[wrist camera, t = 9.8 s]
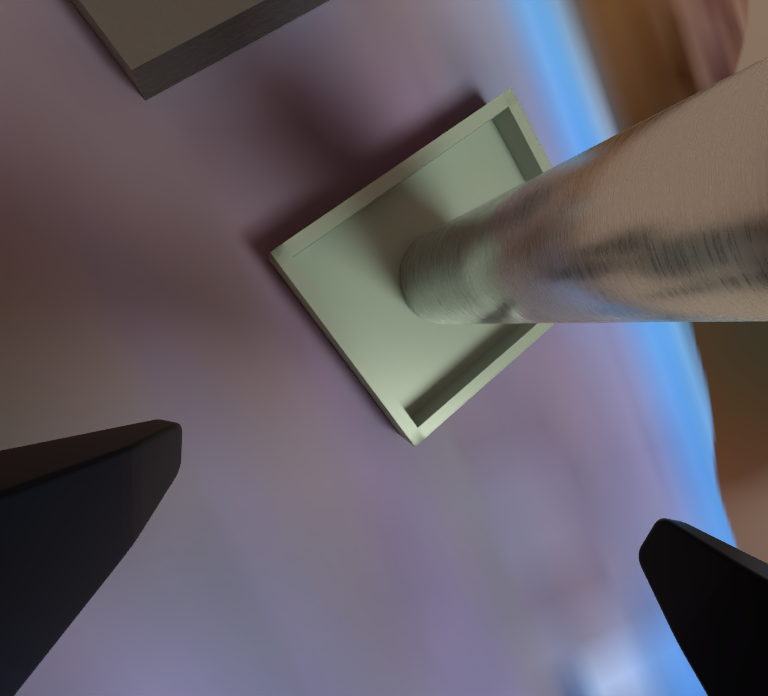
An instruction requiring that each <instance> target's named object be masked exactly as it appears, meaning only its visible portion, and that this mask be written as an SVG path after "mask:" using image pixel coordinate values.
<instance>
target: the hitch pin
mask: <svg viewBox="0 0 768 696" xmlns="http://www.w3.org/2000/svg"><path fill="white" fill-rule="evenodd" d="M400 286H401V290H402V293H403V296H404V298H405V300H406V302H407V304H408V305H409V306H410V308H411V309H412V310H413V311H414V312H415V313H416V314H417V315H418V316H420V317H421V318H423V319H424V320H426V321H429V322H432V323H435V324H510V323H611V322H708V321H710V322H711V321H768V57H766V58H764V59H762V60H760V61H758V62H757V63H755V64H753V65H751V66H749V67H747V68H745V69H743V70H741V71H739V72H737V73H735V74H733V75H731V76H729V77H727V78H726V79H724V80H722V81H720V82H718V83H716V84H714V85H712V86H710V87H708V88H706V89H704V90H702V91H700V92H698V93H696V94H695V95H693V96H691V97H689V98H687V99H685V100H683V101H681V102H679V103H677V104H675V105H673V106H671V107H669V108H667V109H665V110H664V111H662V112H660V113H658V114H656V115H654V116H652V117H650V118H648V119H646V120H644V121H642V122H640V123H638V124H636V125H634V126H633V127H631V128H629V129H627V130H625V131H623V132H621V133H619V134H617V135H615V136H613V137H611V138H609V139H607V140H605V141H603V142H602V143H600V144H598V145H596V146H594V147H592V148H590V149H588V150H586V151H584V152H582V153H580V154H578V155H576V156H574V157H572V158H571V159H569V160H567V161H565V162H563V163H561V164H559V165H557V166H555V167H553V168H551V169H549V170H547V171H545V172H543V173H541V174H540V175H538V176H536V177H534V178H532V179H530V180H528V181H526V182H524V183H522V184H520V185H518V186H516V187H514V188H512V189H511V190H509V191H507V192H505V193H503V194H501V195H499V196H497V197H495V198H493V199H491V200H489V201H487V202H485V203H483V204H481V205H480V206H478V207H476V208H474V209H472V210H470V211H468V212H466V213H464V214H462V215H460V216H458V217H456V218H454V219H452V220H450V221H449V222H447V223H445V224H443V225H441V226H439V227H437V228H435V229H433V230H431V231H429V232H427V233H425V234H423V235H422V236H420V237H418V238H417V239H416V240H415V241H414V242H413V243H412V244H411V245H410V246H409V247H408V249H407V250H406V252H405V254H404V256H403V259H402V262H401V266H400Z"/></svg>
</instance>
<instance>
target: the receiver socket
mask: <svg viewBox="0 0 768 696" xmlns="http://www.w3.org/2000/svg"><path fill="white" fill-rule="evenodd" d="M71 1H72V3H73V4H74V5H75V7H76V8H77V9H78V11H79V12H80V13H81V15H82V16H83V17H84V19H85V20H86V21H87V23H88V24H89V25H90V27H91V28H92V29H93V31H94V32H95V33H96V35H97V36H98V37H99V39H100V40H101V41H102V43H103V44H104V45H105V47H106V48H107V49H108V51H109V52H110V53H111V55H112V56H113V57H114V59H115V60H116V61H117V63H118V64H119V65H120V67H121V68H122V69H123V71H124V72H125V73H126V75H127V76H128V77H129V79H130V80H131V81H132V83H133V84H134V85H135V86H136V88H137V89H138V90H139V92H140V93H141V94H142V96H143V97H144V98H145V100H147V99H149V98H151V97H152V96H154V95H156V94H158V93H160V92H162V91H163V90H165V89H167V88H169V87H171V86H173V85H174V84H176V83H178V82H180V81H182V80H184V79H185V78H187V77H189V76H191V75H193V74H195V73H196V72H198V71H200V70H202V69H204V68H206V67H207V66H209V65H211V64H213V63H215V62H217V61H218V60H220V59H222V58H224V57H226V56H228V55H229V54H231V53H233V52H235V51H237V50H239V49H240V48H242V47H244V46H246V45H248V44H250V43H251V42H253V41H255V40H257V39H259V38H261V37H262V36H264V35H266V34H268V33H270V32H272V31H273V30H275V29H277V28H279V27H281V26H283V25H284V24H286V23H288V22H290V21H292V20H294V19H295V18H297V17H299V16H301V15H303V14H305V13H306V12H308V11H310V10H312V9H314V8H316V7H317V6H319V5H321V4H323V3H325V2H327V1H329V0H71Z"/></svg>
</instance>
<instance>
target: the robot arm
mask: <svg viewBox="0 0 768 696" xmlns="http://www.w3.org/2000/svg"><path fill="white" fill-rule="evenodd" d="M181 448H182V428H181V426H180V424H178V423H175V422H170V421H165V420H151V421H146V422H141V423H136V424H131V425H126V426H121V427H116V428H111V429H106V430H101V431H96V432H91V433H86V434H81V435H76V436H71V437H66V438H62V439H57V440H52V441H47V442H42V443H37V444H32V445H27V446H22V447H17V448H12V449H7V450H2V451H0V696H14V695H15V694H16V693H17V691H18V690H19V689H20V687H21V686H22V685H23V684H24V682H25V681H26V680H27V679H28V677H29V676H30V675H31V674H32V672H33V671H34V670H35V669H36V667H37V666H38V665H39V663H40V662H41V661H42V660H43V658H44V657H45V656H46V655H47V653H48V652H49V651H50V650H51V648H52V647H53V646H54V644H55V643H56V642H57V641H58V639H59V638H60V637H61V636H62V634H63V633H64V632H65V631H66V629H67V628H68V627H69V625H70V624H71V623H72V622H73V620H74V619H75V618H76V617H77V615H78V614H79V613H80V612H81V610H82V609H83V608H84V607H85V605H86V604H87V603H88V601H89V600H90V599H91V598H92V596H93V595H94V594H95V593H96V591H97V590H98V589H99V588H100V586H101V585H102V584H103V582H104V581H105V580H106V579H107V577H108V576H109V575H110V574H111V572H112V571H113V570H114V569H115V567H116V566H117V565H118V563H119V562H120V561H121V560H122V558H123V557H124V556H125V555H126V553H127V552H128V551H129V549H130V548H131V547H132V545H133V544H134V542H135V541H136V539H137V538H138V536H139V535H140V533H141V532H142V530H143V529H144V527H145V525H146V524H147V522H148V521H149V519H150V517H151V516H152V514H153V513H154V511H155V509H156V508H157V506H158V505H159V503H160V501H161V500H162V498H163V497H164V495H165V493H166V492H167V490H168V489H169V487H170V485H171V484H172V482H173V481H174V479H175V477H176V475H177V473H178V471H179V468H180V464H181ZM639 562H640V565H641V567H642V570H643V572H644V574H645V576H646V578H647V580H648V582H649V584H650V586H651V588H652V591H653V593H654V595H655V597H656V599H657V601H658V603H659V605H660V607H661V609H662V612H663V614H664V616H665V618H666V620H667V622H668V624H669V626H670V628H671V630H672V632H673V634H674V636H675V638H676V640H677V642H678V644H679V646H680V648H681V650H682V651H683V653H684V655H685V657H686V659H687V660H688V662H689V664H690V666H691V667H692V669H693V671H694V672H695V674H696V676H697V678H698V679H699V681H700V683H701V685H702V686H703V688H704V690H705V692H706V693H707V695H708V696H768V564H767V563H765V562H763V561H761V560H759V559H757V558H755V557H753V556H751V555H749V554H747V553H745V552H743V551H741V550H739V549H737V548H735V547H733V546H731V545H729V544H727V543H725V542H723V541H721V540H719V539H717V538H715V537H713V536H711V535H709V534H707V533H705V532H703V531H701V530H699V529H697V528H695V527H693V526H691V525H689V524H687V523H684V522H681V521H677V520H671V519H666V518H663V519H659V520H658V521H657V522H656V523H655V524H654V526H653V527H652V529H651V531H650V532H649V534H648V536H647V537H646V539H645V541H644V542H643V544H642V546H641V547H640V550H639Z"/></svg>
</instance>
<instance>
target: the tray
mask: <svg viewBox="0 0 768 696" xmlns="http://www.w3.org/2000/svg"><path fill="white" fill-rule="evenodd" d="M551 168H552V166H551V164H550V162H549V160H548V158H547V156H546V154H545V152H544V150H543V148H542V146H541V144H540V142H539V140H538V138H537V136H536V134H535V132H534V131H533V129H532V127H531V125H530V123H529V121H528V119H527V117H526V115H525V113H524V111H523V109H522V107H521V105H520V103H519V101H518V99H517V97H516V95H515V93H514V92H513V90H512V88H510V89H508V90H507V91H505V92H504V93H502V94H501V95H500V96H498V97H497V98H495V99H494V100H492V101H491V102H489V103H488V104H486V105H485V106H483V107H482V108H480V109H479V110H478V111H476V112H475V113H473V114H472V115H470V116H469V117H467V118H466V119H464V120H463V121H461V122H460V123H458V124H457V125H456V126H454V127H453V128H451V129H450V130H448V131H447V132H445V133H444V134H442V135H441V136H439V137H438V138H436V139H435V140H434V141H432V142H431V143H429V144H428V145H426V146H425V147H423V148H422V149H420V150H419V151H417V152H416V153H414V154H413V155H412V156H410V157H409V158H407V159H406V160H404V161H403V162H401V163H400V164H398V165H397V166H395V167H394V168H392V169H391V170H390V171H388V172H387V173H385V174H384V175H382V176H381V177H379V178H378V179H376V180H375V181H373V182H372V183H370V184H369V185H368V186H366V187H365V188H363V189H362V190H360V191H359V192H357V193H356V194H354V195H353V196H351V197H350V198H348V199H347V200H346V201H344V202H343V203H341V204H340V205H338V206H337V207H335V208H334V209H332V210H331V211H329V212H328V213H326V214H325V215H323V216H322V217H321V218H319V219H318V220H316V221H315V222H313V223H312V224H310V225H309V226H307V227H306V228H304V229H303V230H301V231H300V232H299V233H297V234H296V235H294V236H293V237H291V238H290V239H288V240H287V241H285V242H284V243H282V244H281V245H279V246H278V247H277V248H275V249H274V250H272V251H271V252H270V253H269V256H268V259H269V261H270V262H271V263H272V265H273V266H274V267H275V269H276V270H277V271H278V273H279V274H280V275H281V277H282V278H283V279H284V281H285V282H286V283H287V285H288V286H289V287H290V289H291V290H292V291H293V293H294V294H295V295H296V297H297V298H298V299H299V301H300V302H301V303H302V305H303V306H304V307H305V309H306V310H307V311H308V313H309V314H310V315H311V317H312V318H313V319H314V321H315V322H316V323H317V325H318V326H319V327H320V329H321V330H322V331H323V333H324V334H325V335H326V337H327V338H328V339H329V341H330V342H331V343H332V345H333V346H334V347H335V349H336V350H337V351H338V353H339V354H340V355H341V357H342V358H343V359H344V361H345V362H346V363H347V365H348V366H349V367H350V369H351V370H352V371H353V373H354V374H355V375H356V377H357V378H358V379H359V381H360V382H361V383H362V385H363V386H364V387H365V389H366V390H367V391H368V393H369V394H370V395H371V397H372V398H373V399H374V401H375V402H376V403H377V405H378V406H379V407H380V409H381V410H382V411H383V413H384V414H385V415H386V417H387V418H388V419H389V421H390V422H391V423H392V425H393V426H394V427H395V429H396V430H397V431H398V433H399V434H400V435H401V436H402V437H403V438H404V439H406V440H407V441H408V442H410V443H411V444H412V445H413V446H416V445H418V444H419V443H420V442H421V441H422V440H423V439H424V438H425V437H427V436H428V435H429V434H430V433H431V432H432V431H433V430H435V429H436V428H437V427H438V426H439V425H440V424H441V423H442V422H444V421H445V420H446V419H447V418H448V417H449V416H450V415H452V414H453V413H454V412H455V411H456V410H457V409H458V408H459V407H461V406H462V405H463V404H464V403H465V402H466V401H467V400H469V399H470V398H471V397H472V396H473V395H474V394H475V393H476V392H478V391H479V390H480V389H481V388H482V387H483V386H484V385H486V384H487V383H488V382H489V381H490V380H491V379H492V378H493V377H495V376H496V375H497V374H498V373H499V372H500V371H501V370H502V369H504V368H505V367H506V366H507V365H508V364H509V363H510V362H512V361H513V360H514V359H515V358H516V357H517V356H518V355H519V354H521V353H522V352H523V351H524V350H525V349H526V348H527V347H529V346H530V345H531V344H532V343H533V342H534V341H535V340H536V339H538V338H539V337H540V336H541V335H542V334H543V333H544V332H546V331H547V330H548V329H549V328H550V327H551V326H552V325H553V324H555V323H510V324H435V323H432V322H429V321H426V320H424V319H423V318H421V317H420V316H418V315H417V314H416V313H415V312H414V311H413V310H412V309H411V308H410V306H409V305H408V304H407V302H406V300H405V298H404V296H403V293H402V290H401V286H400V266H401V262H402V259H403V256H404V254H405V252H406V250H407V249H408V247H409V246H410V245H411V244H412V243H413V242H414V241H415V240H416V239H417V238H418V237H420V236H422V235H423V234H425V233H427V232H429V231H431V230H433V229H435V228H437V227H439V226H441V225H443V224H445V223H447V222H449V221H450V220H452V219H454V218H456V217H458V216H460V215H462V214H464V213H466V212H468V211H470V210H472V209H474V208H476V207H478V206H480V205H481V204H483V203H485V202H487V201H489V200H491V199H493V198H495V197H497V196H499V195H501V194H503V193H505V192H507V191H509V190H511V189H512V188H514V187H516V186H518V185H520V184H522V183H524V182H526V181H528V180H530V179H532V178H534V177H536V176H538V175H540V174H541V173H543V172H545V171H547V170H549V169H551Z"/></svg>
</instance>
